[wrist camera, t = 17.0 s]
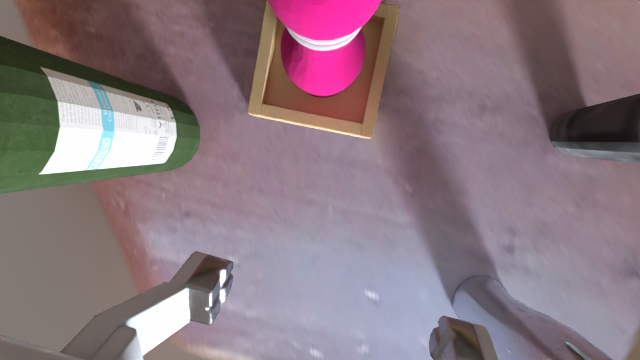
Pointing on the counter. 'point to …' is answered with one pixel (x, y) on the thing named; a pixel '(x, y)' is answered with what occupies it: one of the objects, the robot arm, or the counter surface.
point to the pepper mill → (323, 42)
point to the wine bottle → (83, 123)
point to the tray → (331, 112)
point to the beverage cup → (601, 131)
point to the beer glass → (519, 324)
